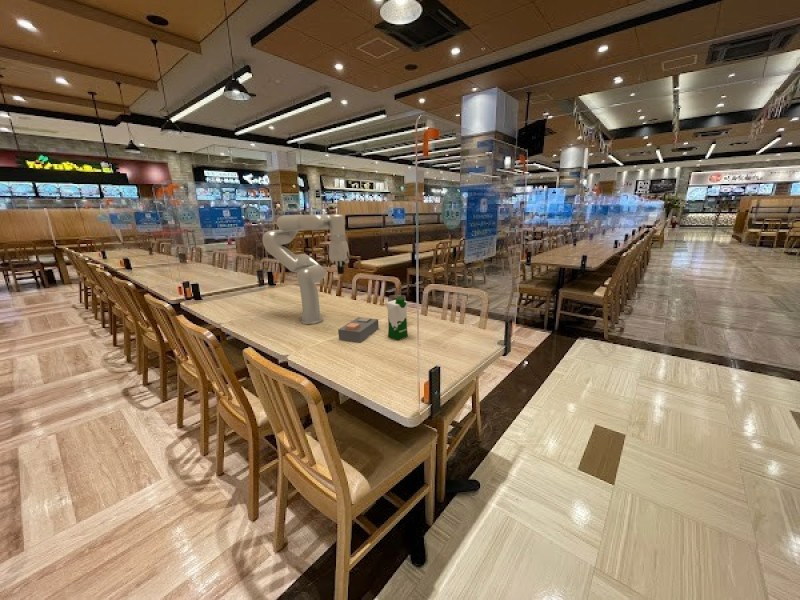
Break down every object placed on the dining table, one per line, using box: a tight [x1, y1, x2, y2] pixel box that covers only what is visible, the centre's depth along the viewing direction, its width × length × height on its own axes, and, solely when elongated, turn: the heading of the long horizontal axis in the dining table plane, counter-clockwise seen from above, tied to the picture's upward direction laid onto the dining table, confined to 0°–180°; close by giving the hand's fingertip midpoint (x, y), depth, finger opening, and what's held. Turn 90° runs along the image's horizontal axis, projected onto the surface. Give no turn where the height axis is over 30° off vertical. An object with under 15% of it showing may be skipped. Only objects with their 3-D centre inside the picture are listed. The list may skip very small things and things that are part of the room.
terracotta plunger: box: [346, 322, 360, 331], centre depth 157 cm, size 5×5×5 cm
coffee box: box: [387, 294, 407, 302], centre depth 174 cm, size 9×6×16 cm
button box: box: [337, 316, 380, 344], centre depth 163 cm, size 12×20×6 cm, turn 158°
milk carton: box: [385, 298, 409, 341], centre depth 156 cm, size 9×9×20 cm
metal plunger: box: [358, 317, 372, 323], centre depth 168 cm, size 5×5×5 cm
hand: (340, 273), depth 170 cm, fingers closed
